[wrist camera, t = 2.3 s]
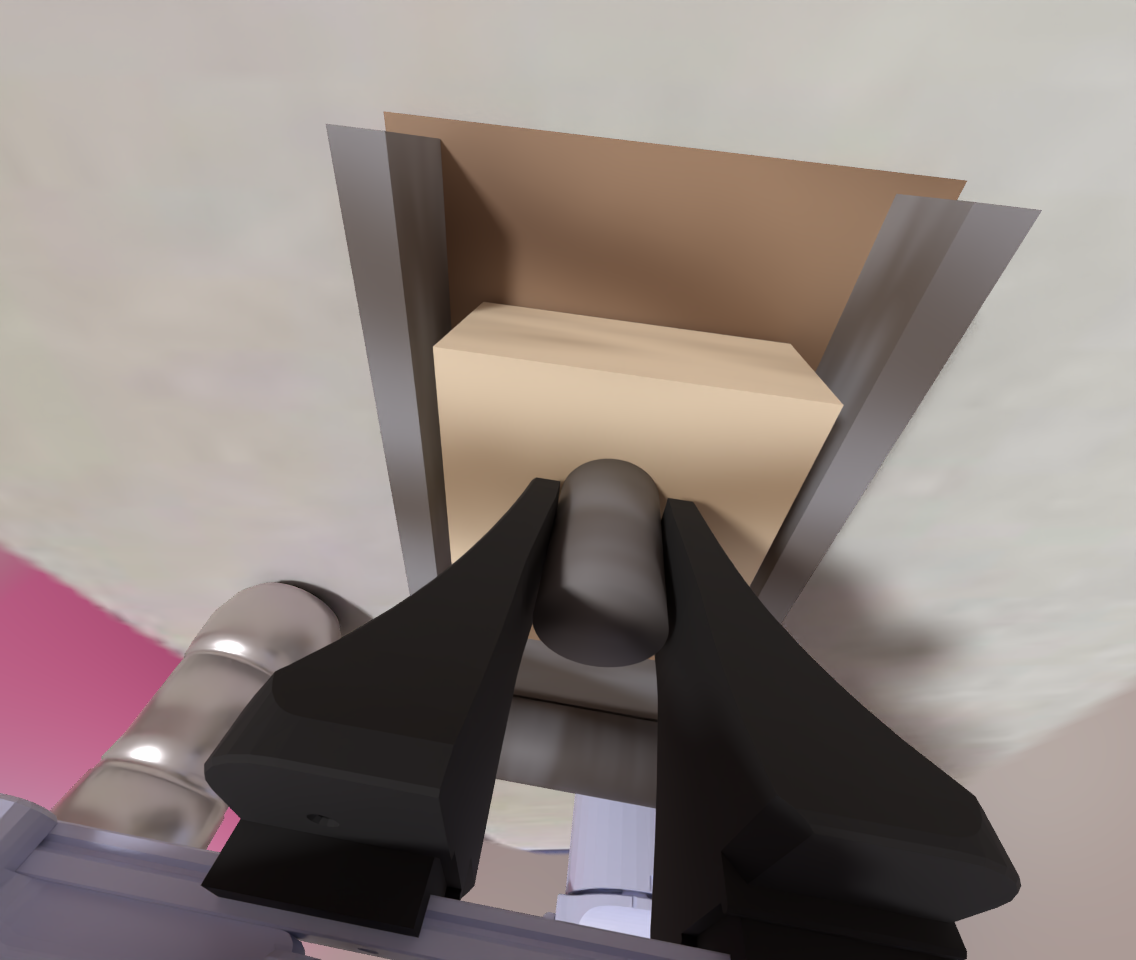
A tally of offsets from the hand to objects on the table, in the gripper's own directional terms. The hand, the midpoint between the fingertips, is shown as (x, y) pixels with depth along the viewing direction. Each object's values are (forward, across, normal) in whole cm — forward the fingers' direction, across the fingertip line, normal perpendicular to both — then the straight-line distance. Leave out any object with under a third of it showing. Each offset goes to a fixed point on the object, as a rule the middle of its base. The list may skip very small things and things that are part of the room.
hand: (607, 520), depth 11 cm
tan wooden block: (+5, 0, 0) cm, 5 cm away
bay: (+6, 0, +3) cm, 7 cm away
